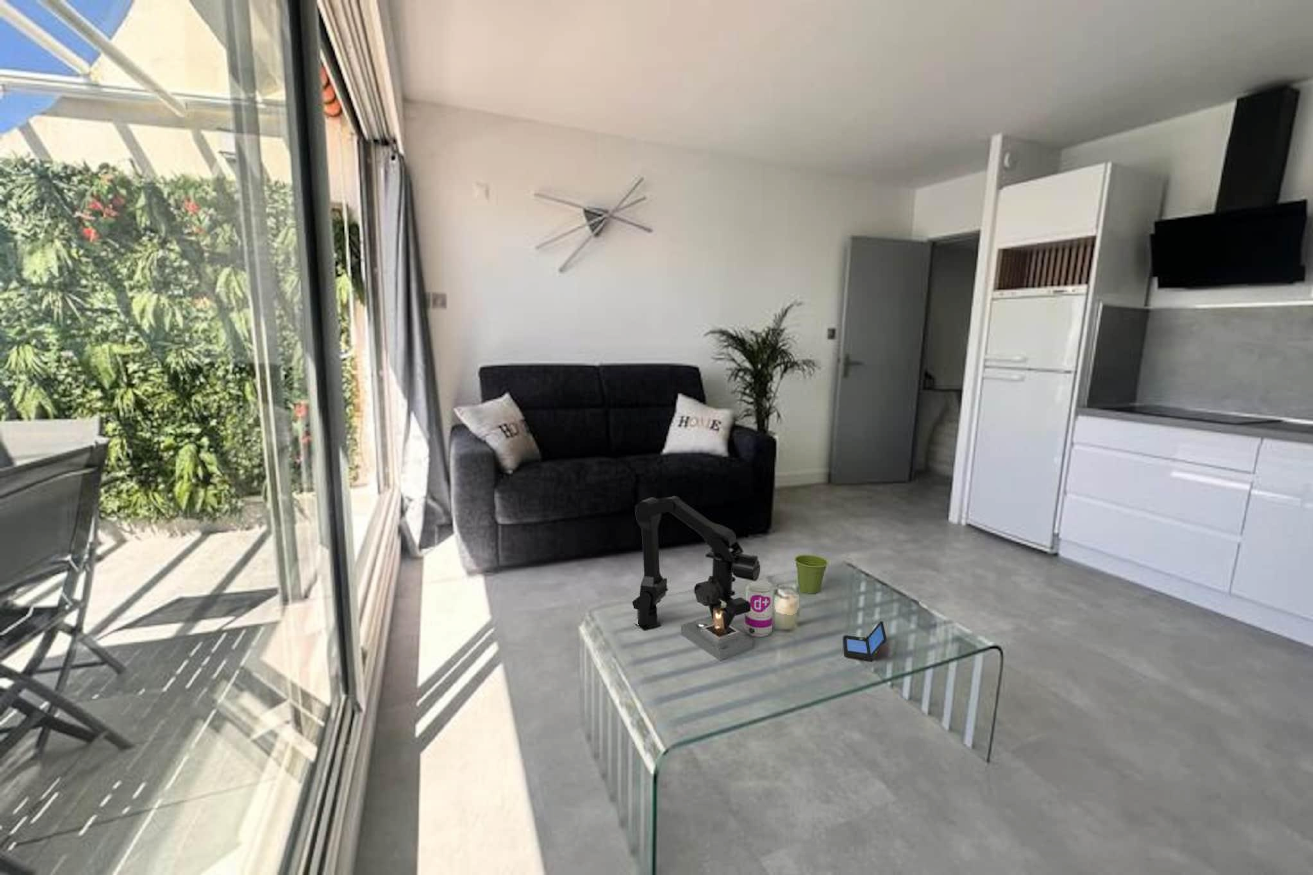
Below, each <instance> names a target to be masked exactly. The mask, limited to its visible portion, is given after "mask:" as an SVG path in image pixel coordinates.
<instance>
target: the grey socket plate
mask: <svg viewBox="0 0 1313 875" xmlns="http://www.w3.org/2000/svg"><path fill="white" fill-rule="evenodd" d="M680 635H681V636H683V637H684V638H686V639H687V640H688V641H690V642H692V643H693V644H694V645H696V646H697V647H698V648H701V649H702V650H703V651H705V652H706V653H708V654H709V655H710V656H712V657H714V658H715V659H717V660H718V661H723V660H726V659H729V658H731V657H734V656H737V655H739V654H742V653H745V652H748V651H750V650H753V643H754V641H753V638H752V637H750V636H748V635H746V634H744V633H743V632H742V631H739V630H738V629H736V628H734V627H732V626H731V625H730V626H729V628H728V634H727V635H724V636H721V637H718V636H717V635H715V634H713V619H712V616H711V615H709V616H706V617H702V618H698V619H697V620H694V621H693V620H692V621H690V622H687V623H683V624H681V625H680Z"/></svg>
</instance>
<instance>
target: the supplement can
mask: <svg viewBox="0 0 1313 875" xmlns="http://www.w3.org/2000/svg"><path fill="white" fill-rule="evenodd" d="M774 594H775V593H774V588H773V586H772V583H770V582H769V581H766V580H763V579H757V581H751V580H749V581H748V583H747V585H746V587H745V600H747V601H749V602H750V603H751V611H750V612H747V613H744V623H743V625H744V631H745V632H746V633H747V634H748V635H750V636H753V637H756V638H763V637H768V636H769V635H770V634H772V632H773V618H774V617H773V616H774V615H773V614H774V612H773V611H774V608H773V607H774Z"/></svg>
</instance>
